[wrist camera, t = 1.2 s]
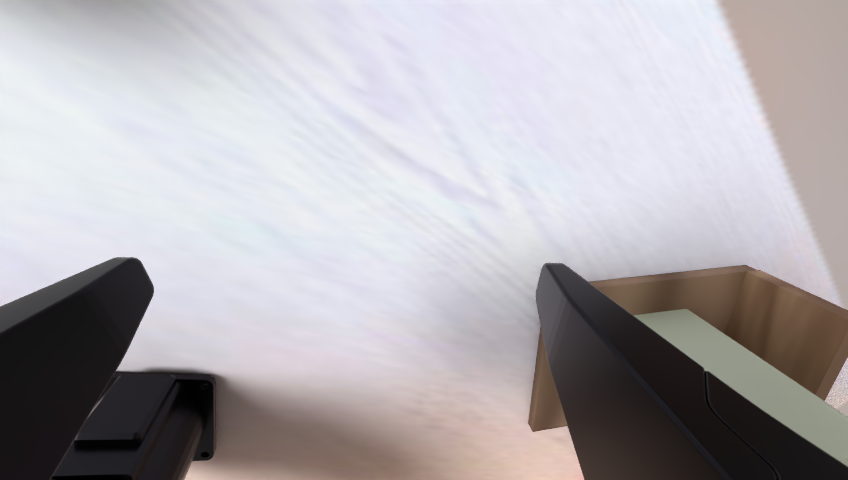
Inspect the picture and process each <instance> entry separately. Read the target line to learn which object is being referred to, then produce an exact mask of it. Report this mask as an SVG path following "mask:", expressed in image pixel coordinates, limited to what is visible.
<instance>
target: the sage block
mask: <svg viewBox="0 0 848 480" xmlns="http://www.w3.org/2000/svg"><path fill="white" fill-rule="evenodd" d="M633 316H635V317H636V318H637V319H639V320H640V321H642V322H643V323H644V324H646V325H647V326H648V327H650V328H651V329H652V330H654V331H655V332H656V333H658V334H659V335H660V336H662V337H663V338H665V339H666V340H667V341H669V342H670V343H671V344H673V345H674V346H675V347H677V348H678V349H679V350H681V351H682V352H683V353H685V354H686V355H687V356H689V357H690V358H692V359H693V360H694V361H696V362H697V363H698V364H700V365H701V366H702V367H704V370H705V371H709V372H711V373H712V374H713V375H715V376H716V377H717V378H719V379H720V380H721V381H723V382H724V383H726V384H727V385H728V386H730V387H731V388H732V389H734V390H735V391H737V392H738V393H739V394H741V395H742V396H744V397H745V398H746V399H748V400H749V401H751V402H752V403H753V404H755V405H756V406H758V407H759V408H760V409H762V410H763V411H765V412H766V413H768V414H769V415H771V416H772V417H774V418H775V419H777V420H778V421H780V422H781V423H783V424H784V425H786V426H787V427H789V428H790V429H792V430H793V431H795V432H796V433H797V434H799V435H800V436H802V437H804V438H805V439H807V440H808V441H810V442H811V443H813V444H814V445H816V446H817V447H819V448H820V449H822V450H823V451H825V452H826V453H828V454H829V455H831V456H833V457H834V458H836V459H837V460H839V461H840V462H842V463H843V464H845V465H846V466H848V417H847V416H845V415H844V414H843V413H841V412H840V411H838V410H837V409H835V408H834V407H832V406H831V405H829V404H828V403H826V402H825V401H823V400H822V399H820V398H819V397H817V396H816V395H814V394H813V393H811V392H810V391H808V390H807V389H805V388H804V387H802V386H801V385H799V384H798V383H797V382H795V381H794V380H792V379H791V378H789V377H788V376H786V375H785V374H783V373H782V372H780V371H779V370H777V369H776V368H774V367H773V366H771V365H770V364H768V363H767V362H765V361H764V360H762V359H761V358H759V357H758V356H756V355H755V354H753V353H752V352H750V351H749V350H747V349H746V348H744V347H743V346H742V345H740V344H739V343H737V342H736V341H734V340H733V339H731V338H730V337H728V336H727V335H725V334H724V333H722V332H721V331H719V330H718V329H716V328H715V327H713V326H712V325H710V324H709V323H707V322H706V321H704V320H703V319H701V318H700V317H698V316H697V315H695V314H694V313H692V312H691V311H689V310H688V309H680V310H672V311H664V312H656V313H648V314H640V315H633Z"/></svg>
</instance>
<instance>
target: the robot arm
mask: <svg viewBox="0 0 848 480" xmlns="http://www.w3.org/2000/svg"><path fill="white" fill-rule="evenodd" d="M153 293H154V287H153V284H152V282H151V280H150V278H149V276H148V274H147V272H146V270H145V268H144V266H143V264H142V263H141V261H140V260H138V259H137V258H133V257H117V258H113V259H110V260H108V261H106V262H103V263H101V264H99V265H96V266H94V267H92V268H89V269H87V270H85V271H82V272H80V273H78V274H75V275H73V276H71V277H68V278H66V279H64V280H61V281H59V282H57V283H54V284H52V285H50V286H47V287H45V288H43V289H40V290H38V291H36V292H33V293H31V294H29V295H26V296H24V297H22V298H19V299H17V300H15V301H12V302H10V303H8V304H5V305H3V306H1V307H0V480H184V479H185V477H186V474H187V472H188V470H189V467H190V465H191V462H192V461H200V460H209V459H211V458H212V457H213V455H214V453H215V450H216V381H215V379H214V377H212V376H210V375H194V374H155V373H116V372H115V371H116V370H117V368H118V366H119V365H120V363H121V361H122V359H123V358H124V356H125V354H126V352H127V350H128V348H129V346H130V344H131V342H132V339H133V337H134V335H135V333H136V331H137V329H138V327H139V325H140V322H141V320H142V318H143V316H144V314H145V312H146V310H147V308H148V305H149V303H150V301H151V299H152V297H153ZM536 302H537V308H538V313H539V318H540V324H541V329H542V335H543V340H544V345H545V351H546V355H547V360H548V364H549V367H550V371H551V374H552V377H553V380H554V384H555V387H556V390H557V393H558V396H559V400H560V403H561V406H562V409H563V412H564V416H565V419H566V422H567V425H568V428H569V432H570V435H571V438H572V441H573V444H574V448H575V451H576V454H577V457H578V460H579V464H580V467H581V470H582V473H583V476H584V479H585V480H848V466H846V465H845V464H843V463H842V462H840V461H839V460H837V459H836V458H834V457H833V456H831V455H829V454H828V453H826V452H825V451H823V450H822V449H820V448H819V447H817V446H816V445H814V444H813V443H811V442H810V441H808V440H807V439H805V438H804V437H802V436H800V435H799V434H797V433H796V432H795V431H793V430H792V429H790V428H789V427H787V426H786V425H784V424H783V423H781V422H780V421H778V420H777V419H775V418H774V417H772V416H771V415H769V414H768V413H766V412H765V411H763V410H762V409H760V408H759V407H758V406H756V405H755V404H753V403H752V402H751V401H749V400H748V399H746V398H745V397H744V396H742V395H741V394H739V393H738V392H737V391H735V390H734V389H732V388H731V387H730V386H728V385H727V384H726V383H724V382H723V381H721V380H720V379H719V378H717V377H716V376H715V375H713V374H712V373H711V372H709V371H705V370H704V367H702V366H701V365H700V364H698V363H697V362H696V361H694V360H693V359H692V358H690V357H689V356H687V355H686V354H685V353H683V352H682V351H681V350H679V349H678V348H677V347H675V346H674V345H673V344H671V343H670V342H669V341H667V340H666V339H665V338H663V337H662V336H660V335H659V334H658V333H656V332H655V331H654V330H652V329H651V328H650V327H648V326H647V325H646V324H644V323H643V322H642V321H640V320H639V319H637V318H636V317H635V316H633V315H632V314H631V313H629V312H628V311H627V310H625V309H624V308H623V307H621V306H620V305H619V304H617V303H616V302H615V301H613V300H612V299H610V298H609V297H608V296H606V295H605V294H604V293H602V292H601V291H600V290H598V289H597V288H596V287H594V286H593V285H592V284H590V283H589V282H587V281H586V280H585V279H583V278H582V277H581V276H579V275H578V274H577V273H575V272H574V271H573V270H571V269H570V268H569V267H567V266H566V265H564V264H562V263H546V264H544V265H543V267H542V270H541V274H540V278H539V282H538V286H537V290H536ZM203 383H207V384H208V385H204V384H203Z"/></svg>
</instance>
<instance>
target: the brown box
mask: <svg viewBox="0 0 848 480" xmlns="http://www.w3.org/2000/svg"><path fill="white" fill-rule="evenodd" d="M589 283H590V284H592V285H593V286H594V287H596V288H597V289H598V290H600V291H601V292H602V293H604V294H605V295H606V296H608V297H609V298H610V299H612V300H613V301H615V302H616V303H617V304H619V305H620V306H621V307H623V308H624V309H625V310H627V311H628V312H629V313H631V314H632V315H640V314H648V313H656V312H664V311H672V310H680V309H688V310H689V311H691V312H692V313H694V314H695V315H697V316H698V317H700V318H701V319H703V320H704V321H706V322H707V323H709V324H710V325H712V326H713V327H715V328H716V329H718V330H719V331H721V332H722V333H724V334H725V335H727V336H728V337H730V338H731V339H733V340H734V341H736V342H737V343H739V344H740V345H742V346H743V347H744V348H746V349H747V350H749V351H750V352H752V353H753V354H755V355H756V356H758V357H759V358H761V359H762V360H764V361H765V362H767V363H768V364H770V365H771V366H773V367H774V368H776V369H777V370H779V371H780V372H782V373H783V374H785V375H786V376H788V377H789V378H791V379H792V380H794V381H795V382H797V383H798V384H799V385H801V386H802V387H804V388H805V389H807V390H808V391H810V392H811V393H813V394H814V395H816V396H817V397H819V398H820V399H822V400H823V401H825V399H826V397H827V395H828V393H829V391H830V389H831V387H832V386H833V384H834V382H835V380H836V378H837V376H838V374H839V372H840V370H841V368H842V367H843V365H844V363H845V361H846V359H847V357H848V310H846V309H843V308H841V307H839V306H837V305H835V304H832V303H830V302H828V301H826V300H824V299H822V298H819V297H817V296H815V295H813V294H811V293H809V292H806V291H804V290H802V289H800V288H798V287H795V286H793V285H791V284H789V283H787V282H785V281H782V280H780V279H778V278H776V277H774V276H771V275H769V274H767V273H765V272H763V271H761V270H755V269H753V268H751V267H749V266H747V265H742V266H732V267H723V268H714V269H704V270H695V271H686V272H677V273H667V274H658V275H649V276H639V277H630V278H621V279H612V280H602V281H593V282H589ZM528 423H529V425H530V427H531V429H532V431H533V432H535V431H540V430H546V429H552V428H558V427H564V426H568V425H567V422H566V419H565V416H564V412H563V409H562V406H561V403H560V400H559V396H558V393H557V390H556V387H555V384H554V380H553V377H552V374H551V371H550V367H549V364H548V360H547V355H546V351H545V345H544V340H543V335H542V329H541V328H540V336H539V344H538V351H537V359H536V367H535V375H534V382H533V390H532V398H531V406H530V414H529V421H528Z"/></svg>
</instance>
